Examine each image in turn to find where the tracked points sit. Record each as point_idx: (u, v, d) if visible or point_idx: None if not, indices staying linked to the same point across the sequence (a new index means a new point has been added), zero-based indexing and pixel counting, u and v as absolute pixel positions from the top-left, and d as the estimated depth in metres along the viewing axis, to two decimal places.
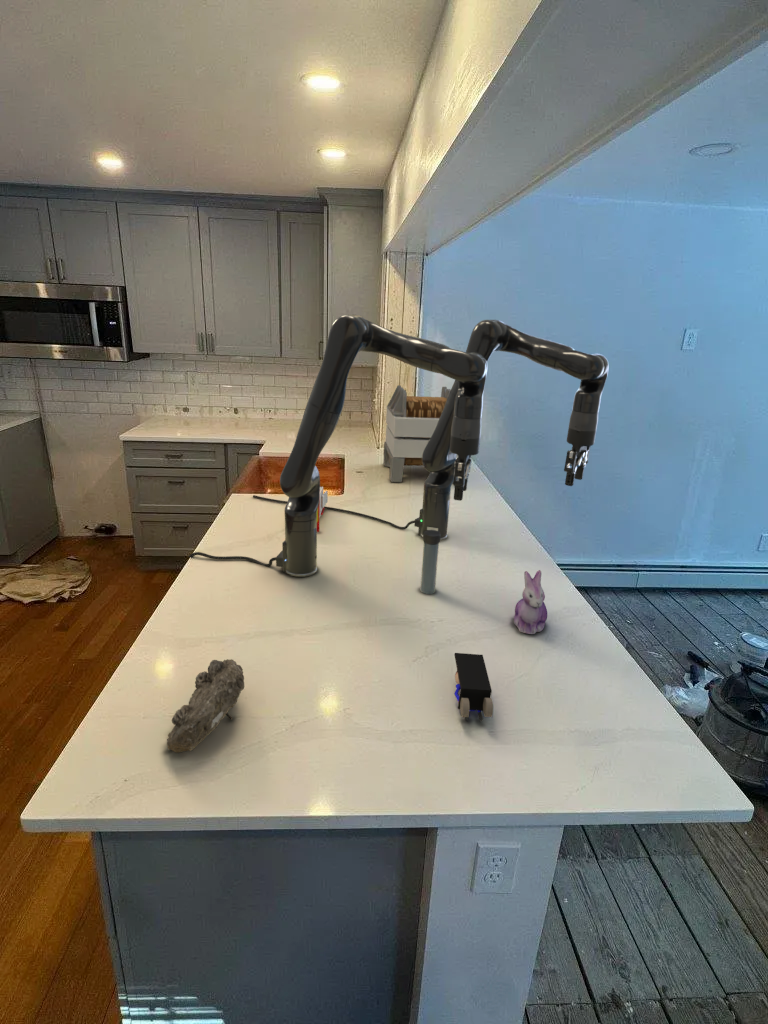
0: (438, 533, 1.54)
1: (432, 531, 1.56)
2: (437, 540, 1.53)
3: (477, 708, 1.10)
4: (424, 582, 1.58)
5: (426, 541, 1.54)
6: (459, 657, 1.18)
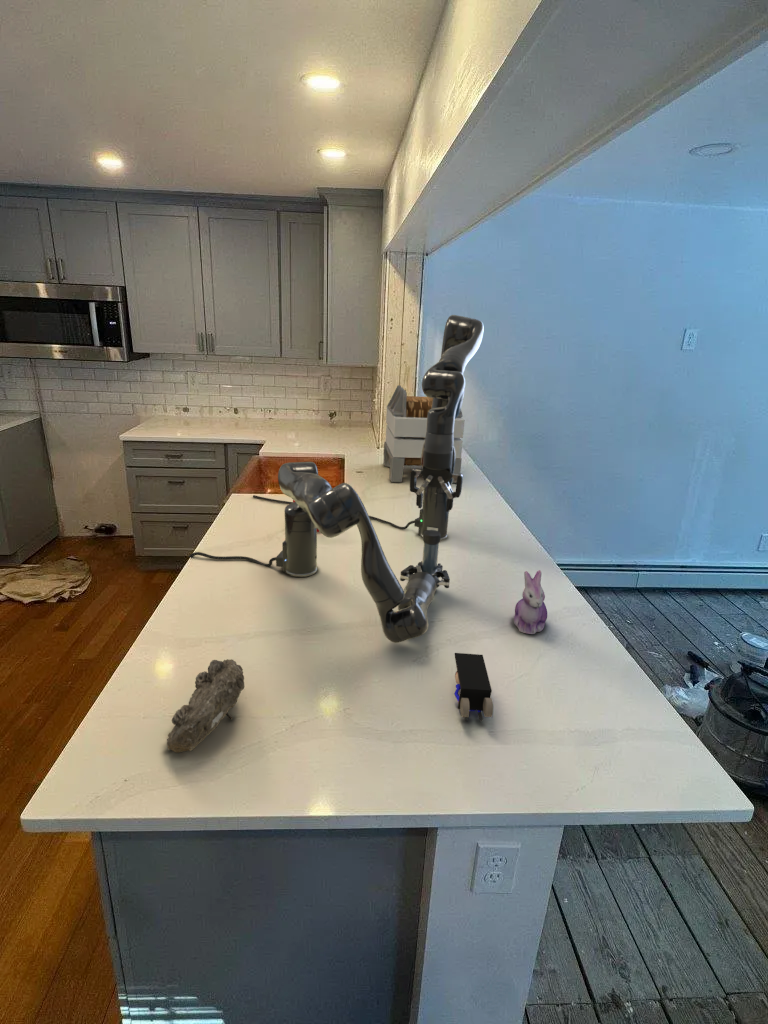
0: (438, 533, 1.54)
1: (432, 531, 1.56)
2: (437, 540, 1.53)
3: (477, 708, 1.10)
4: None
5: (426, 541, 1.54)
6: (459, 657, 1.18)
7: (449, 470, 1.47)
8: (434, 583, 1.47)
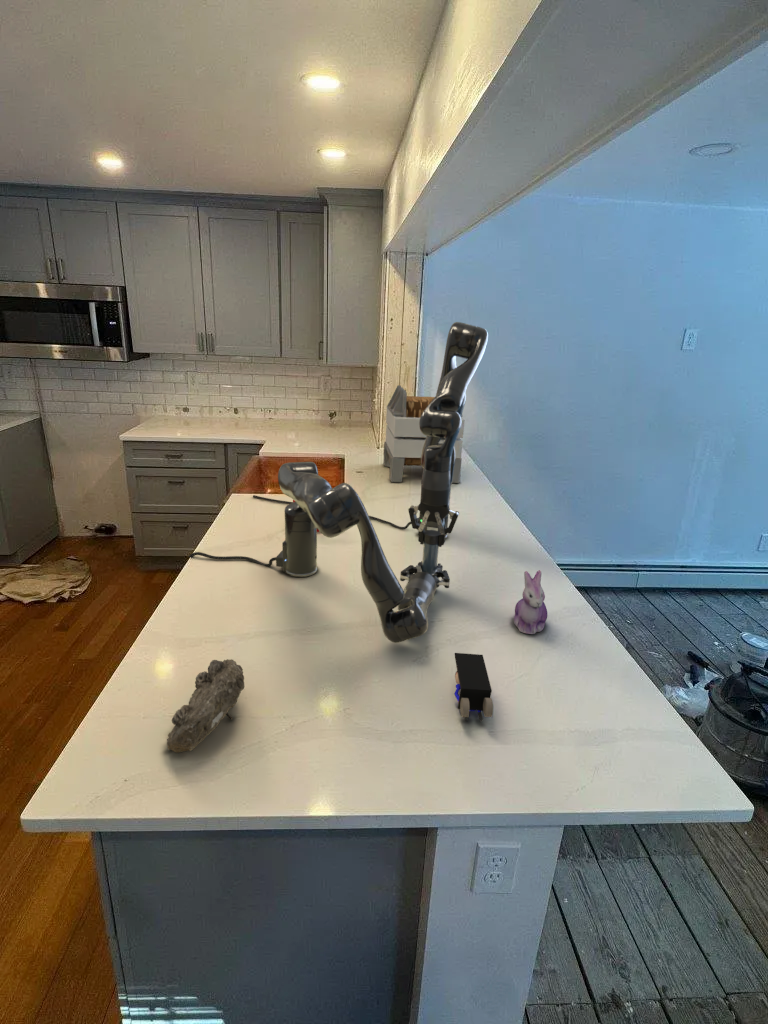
0: (438, 533, 1.54)
1: (432, 531, 1.56)
2: (437, 540, 1.53)
3: (477, 708, 1.10)
4: None
5: (426, 541, 1.54)
6: (459, 657, 1.18)
7: (446, 506, 1.50)
8: (434, 583, 1.47)
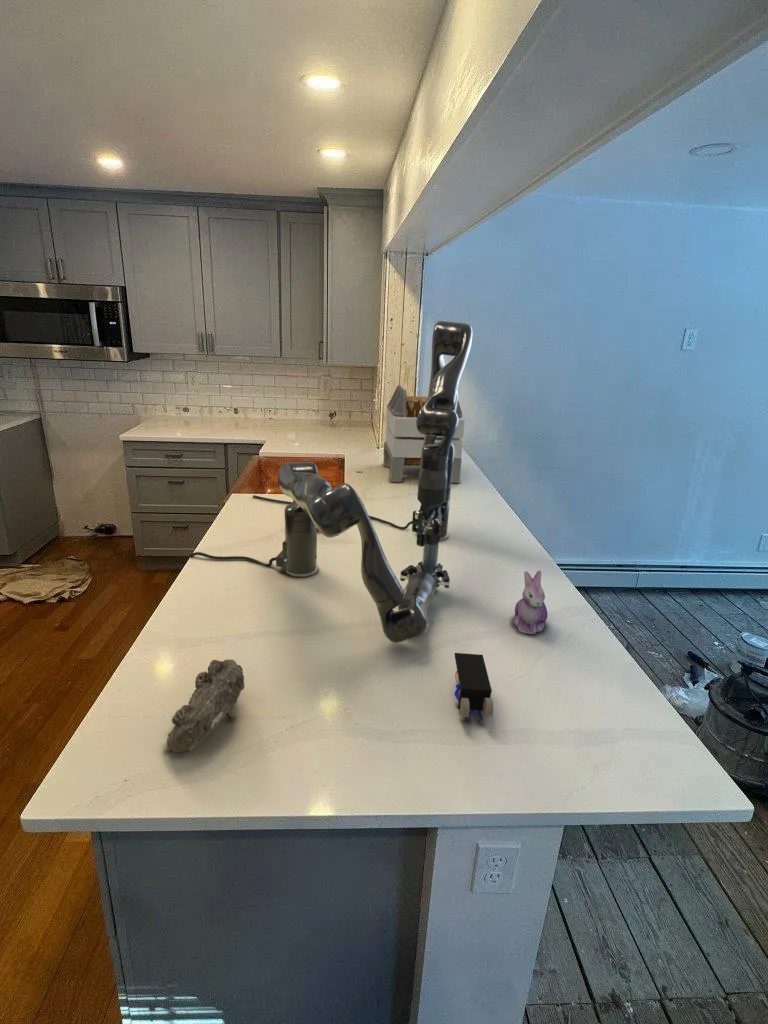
0: (431, 529, 1.56)
1: (428, 531, 1.54)
2: None
3: (477, 708, 1.10)
4: None
5: (438, 540, 1.54)
6: (459, 657, 1.18)
7: None
8: (434, 583, 1.47)
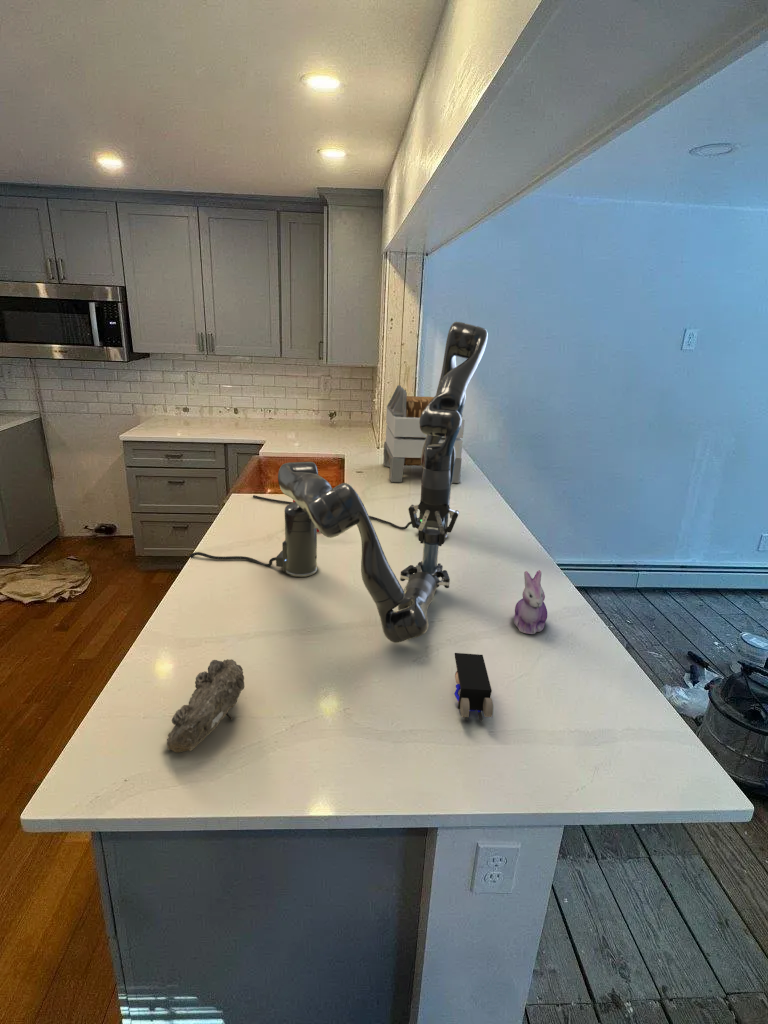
0: (431, 529, 1.56)
1: (428, 531, 1.54)
2: None
3: (477, 708, 1.10)
4: None
5: (438, 540, 1.54)
6: (459, 657, 1.18)
7: (446, 505, 1.50)
8: (434, 583, 1.47)
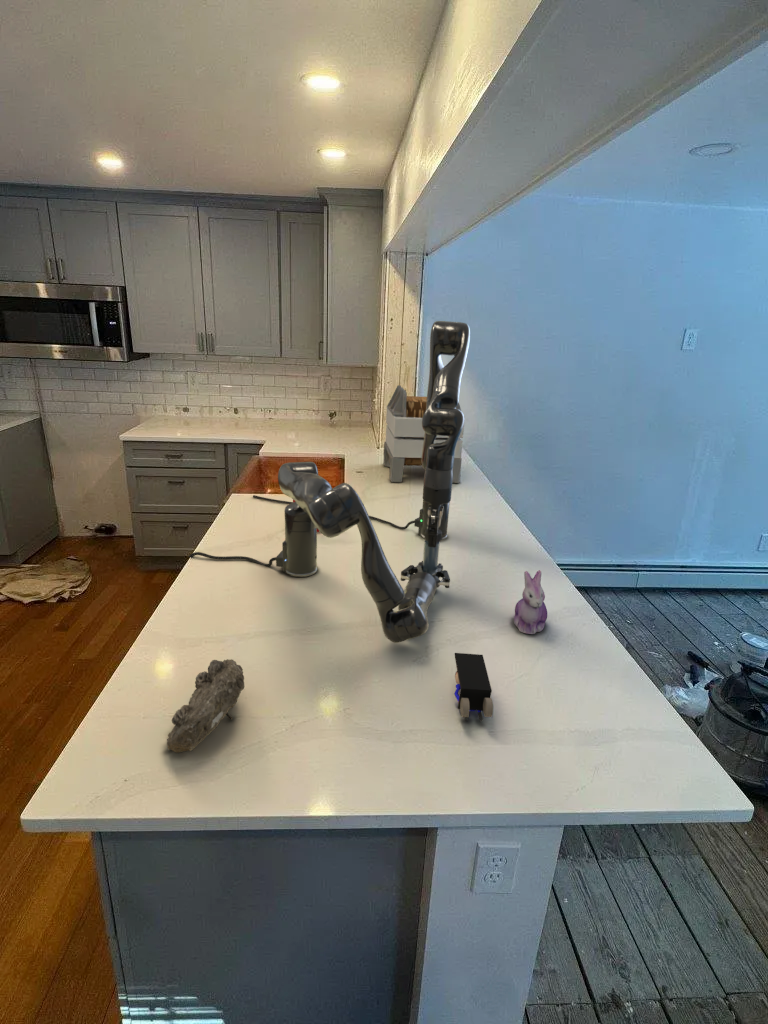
0: None
1: None
2: None
3: (477, 708, 1.10)
4: None
5: None
6: (459, 657, 1.18)
7: None
8: (434, 583, 1.47)
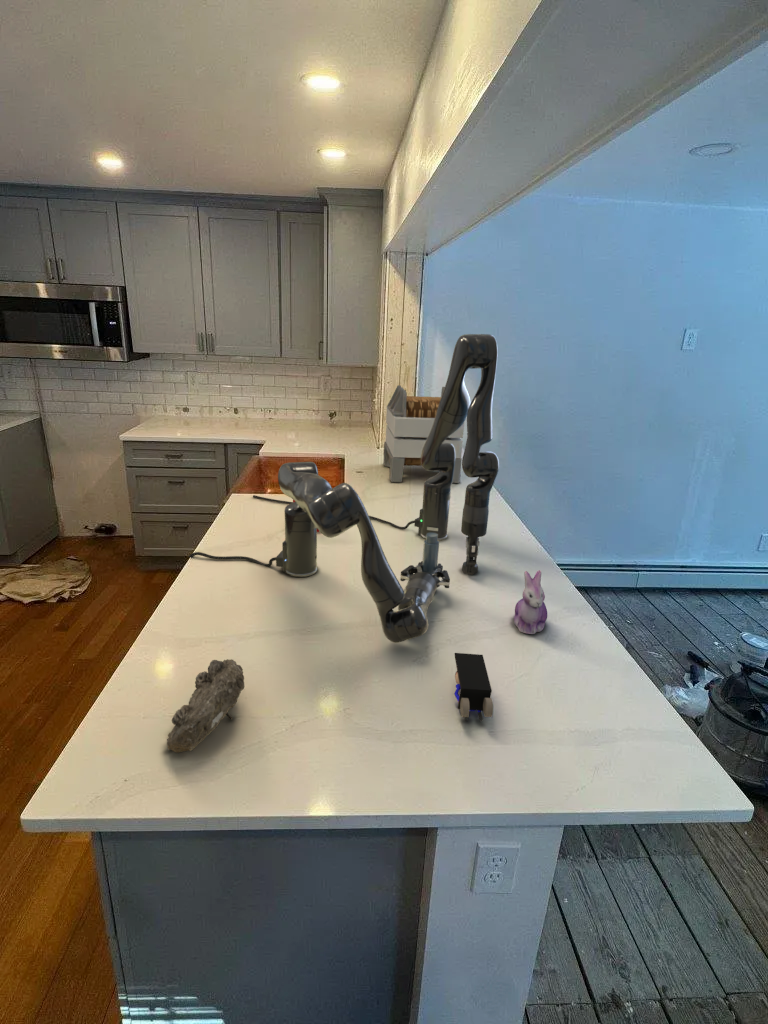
0: (464, 564, 1.72)
1: None
2: None
3: (477, 708, 1.10)
4: None
5: None
6: (459, 657, 1.18)
7: None
8: (434, 583, 1.47)
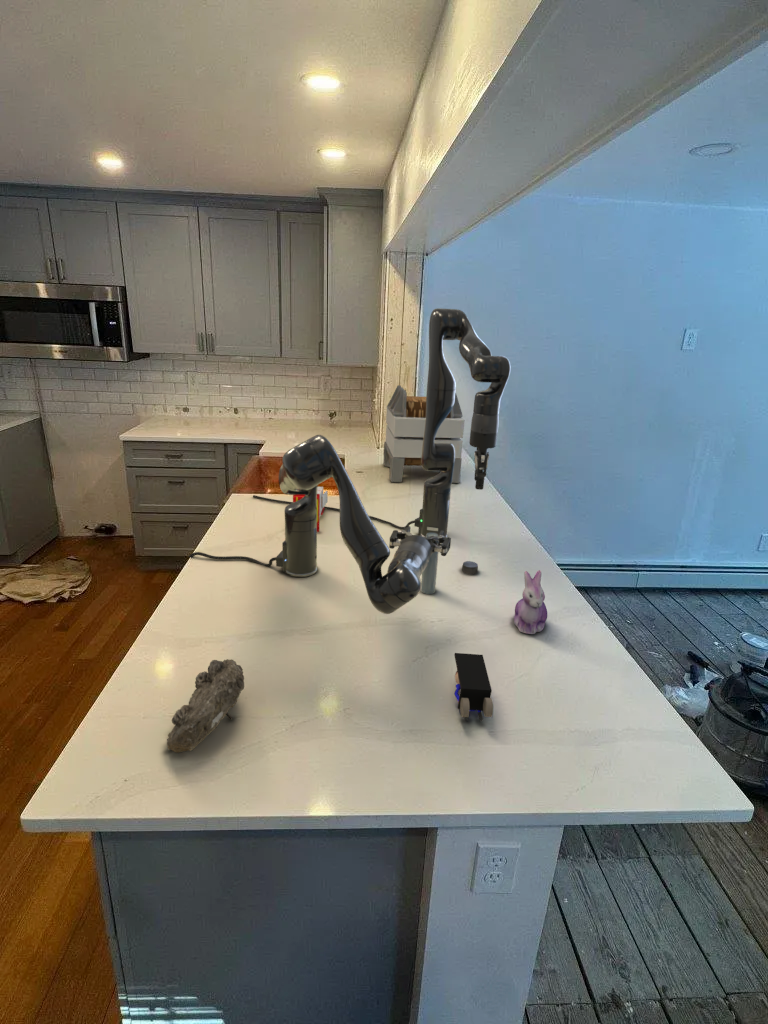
0: (464, 564, 1.72)
1: (471, 565, 1.72)
2: None
3: (477, 708, 1.10)
4: (424, 582, 1.58)
5: None
6: (459, 657, 1.18)
7: None
8: (429, 547, 1.29)
